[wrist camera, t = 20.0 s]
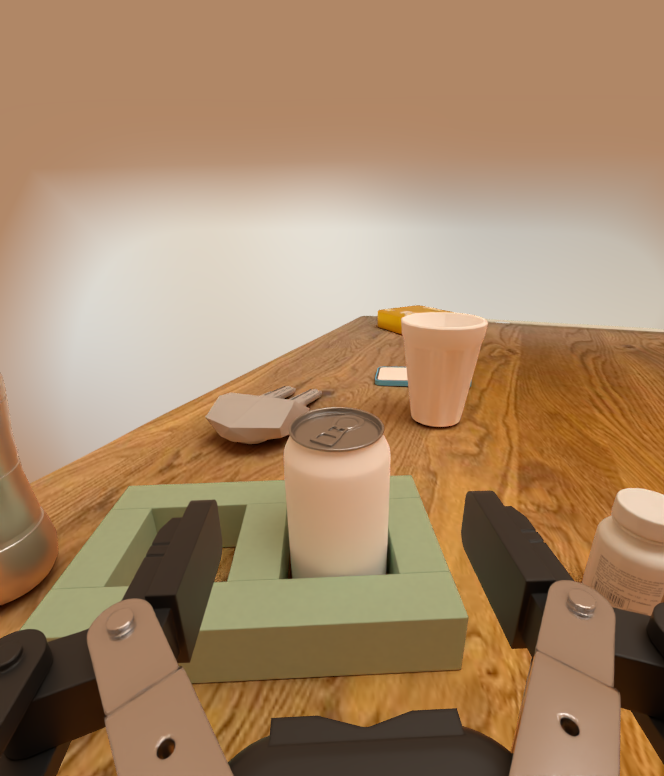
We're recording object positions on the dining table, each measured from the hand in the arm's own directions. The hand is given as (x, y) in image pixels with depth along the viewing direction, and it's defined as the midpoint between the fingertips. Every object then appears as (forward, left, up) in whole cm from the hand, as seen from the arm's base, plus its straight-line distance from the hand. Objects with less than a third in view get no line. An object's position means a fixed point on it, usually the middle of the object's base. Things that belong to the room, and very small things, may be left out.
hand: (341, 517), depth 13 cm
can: (0, +10, -14) cm, 18 cm away
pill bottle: (+18, +8, -14) cm, 24 cm away
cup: (+14, +36, -14) cm, 41 cm away
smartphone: (+16, +51, -14) cm, 55 cm away
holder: (-5, +11, -14) cm, 18 cm away
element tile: (+24, +90, -14) cm, 94 cm away
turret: (-7, +36, -14) cm, 40 cm away
